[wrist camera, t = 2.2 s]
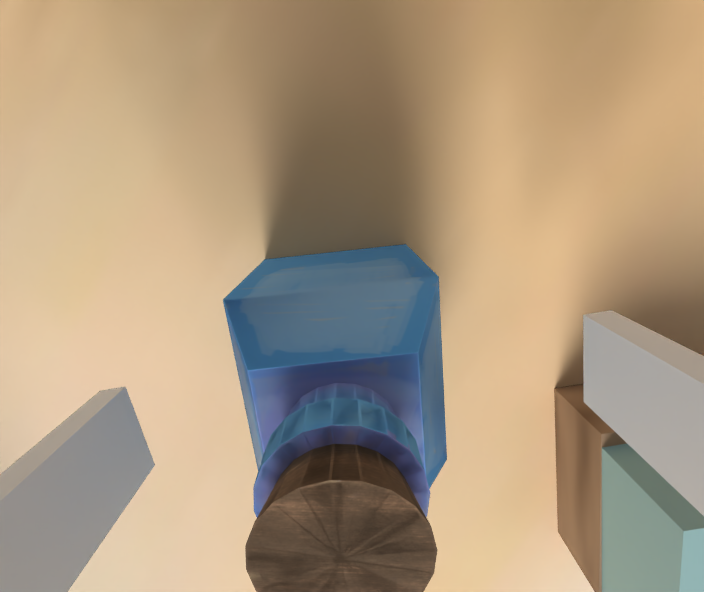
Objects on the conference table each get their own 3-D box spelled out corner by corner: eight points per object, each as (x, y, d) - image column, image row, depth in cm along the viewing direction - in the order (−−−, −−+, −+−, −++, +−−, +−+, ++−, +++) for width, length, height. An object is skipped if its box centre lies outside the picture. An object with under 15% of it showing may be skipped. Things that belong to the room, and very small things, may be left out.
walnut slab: (554, 526, 22) (599, 598, 18) (550, 384, 20) (601, 434, 16) (716, 501, 22) (795, 570, 18) (732, 355, 19) (829, 398, 15)
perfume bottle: (405, 244, 17) (534, 370, 6) (414, 371, 19) (525, 670, 7) (265, 259, 17) (102, 415, 6) (286, 385, 19) (195, 702, 7)
